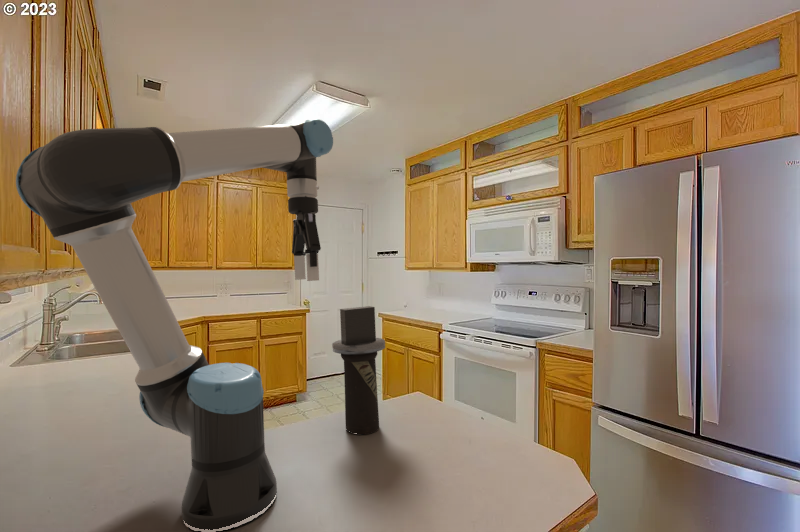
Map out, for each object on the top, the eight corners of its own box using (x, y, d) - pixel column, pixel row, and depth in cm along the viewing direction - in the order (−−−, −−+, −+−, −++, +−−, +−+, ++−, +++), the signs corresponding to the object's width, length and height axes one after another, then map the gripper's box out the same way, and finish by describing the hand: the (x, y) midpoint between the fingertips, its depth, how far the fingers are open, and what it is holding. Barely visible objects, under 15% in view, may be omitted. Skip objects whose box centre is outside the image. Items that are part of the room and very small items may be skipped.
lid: (394, 348, 94) (393, 307, 94) (344, 357, 88) (342, 313, 88) (370, 340, 106) (369, 303, 105) (325, 347, 99) (323, 308, 99)
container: (371, 438, 91) (368, 352, 91) (337, 433, 94) (334, 351, 94) (385, 423, 99) (382, 345, 99) (354, 419, 102) (351, 343, 102)
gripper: (331, 189, 91) (335, 280, 91) (305, 205, 113) (308, 278, 114) (299, 188, 88) (303, 282, 88) (279, 204, 110) (282, 279, 110)
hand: (306, 280), depth 101 cm, fingers open, 13 cm apart
